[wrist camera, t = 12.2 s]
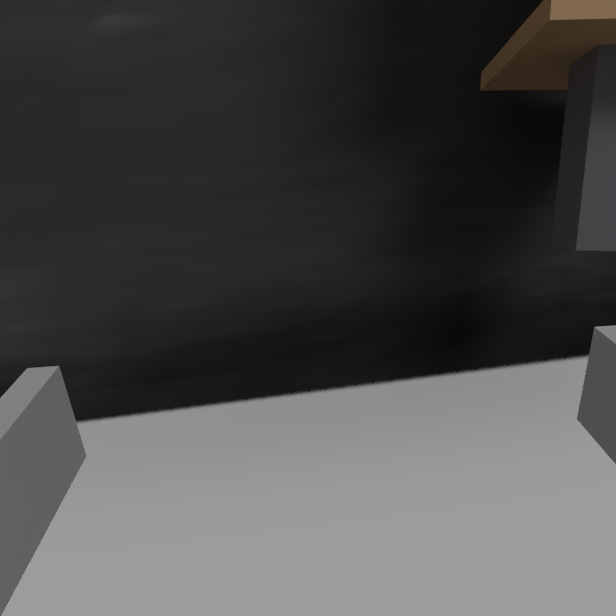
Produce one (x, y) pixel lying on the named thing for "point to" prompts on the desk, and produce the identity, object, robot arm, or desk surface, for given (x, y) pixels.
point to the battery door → (572, 109)
